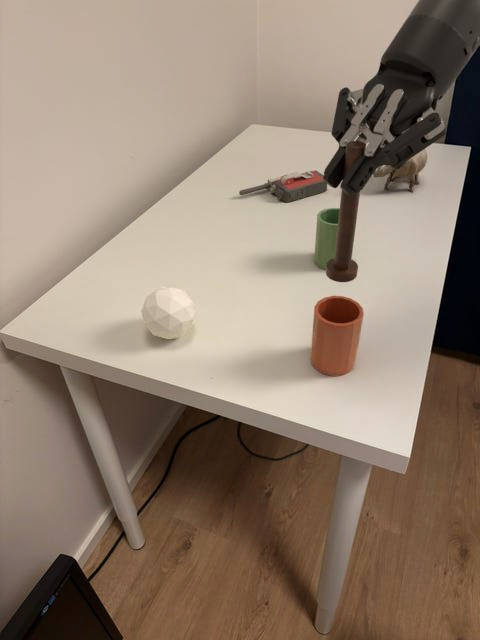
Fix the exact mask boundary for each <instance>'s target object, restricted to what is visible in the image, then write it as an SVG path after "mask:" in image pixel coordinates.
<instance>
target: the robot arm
mask: <svg viewBox="0 0 480 640" xmlns="http://www.w3.org/2000/svg"><path fill="white" fill-rule="evenodd" d="M479 46H480V0H418V1H417V3H416V4H415V5H414V7H413V9H412V10H411V12H410V13H409V15H407V18H406V19H405V21H404V22H403V23H402V25H401V26H400V28H399V30H398V31H397V33H396V35H394V37H393V39H392V40H391V42H390V43H389V45H388V46H387V48H386V50H385V51H384V52H383V54H382V56H381V58H380V62H379V66H378V71H377V72H376V74H375V75H373V77H372V78H371V79H369V80H368V81H367V82H366V83H365V84H364V86H363V88H361V89H357V90H354V91H351V89H350V88H349V87H347V86H345V87H343V88H341V89H340V90H339V92H338V98H337V103H336V108H335V112H334V118H333V123H332V128H331V136H332V138H334V140H335V141H336V142H337V143H338V149H337V150H336V152H335V153H334V155H333V157H332V158H331V159H330V161H329V162H328V164H327V165H326V166H325V169H324V172H323V175H324V176H323V179H324V181H325V182H326V183H327V186H328V187H331V188H333V189H337V188H338V187H340V189H341V191H342V190H343V191H344V192H345V193H346V194H347V195H350V196H354V195H355V194H356V193H359V192H360V193H361V191H363V189H364V188H365V186H366V185H367V183H368V182H369V181H370V179H371V178H372V176H374V175H373V173H374V172H375V171H376V170H377V169H378V168H380V167H384V166H386V165H390V166H391V167H392V168H397V167H399V166H400V165H402V164H403V163H405V162H406V161H408V160H409V159H410V158H412V157H413V156H415V155H416V154H418V153H419V152H421V151H422V150H424V149H425V150H426V149H427V148H428V147H430V146H431V145H433V144H434V143H435V142H437V141H439V140H440V139H441V138H443V137H444V136H445V135H446V134H447V130H448V129H447V128H446V126H445V125H446V124H445V123H444V121H443V118H442V117H441V116H440V113H438V112H436V110H437V106H438V102H439V101H441V100H442V99H443V98H444V97H445V96H446V94H447V93H448V91H449V90H450V88H451V87H452V86H453V84H454V83H455V82H456V81H457V78H458V77H459V76H460V74H461V72H462V71H463V70H464V68H465V67H466V65H467V64H468V63H469V61H470V59H471V58H472V57H473V55H474V53H475V52H476V51H477V49H478V48H479ZM351 141H360V142H364V143H365V144H366V149H365V151H364V154H365V155H364V156H362V155H360V156H359V157H358V159H357V160H356V162H355V163H354V165H353V166H352V168H351V169H350V171H349V172H348V173H347V175H346V176H345V178H344V179H343V171H344V162H345V152H346V144H347V143H348V142H351ZM400 150H401V151H400ZM397 152H398V153H397Z"/></svg>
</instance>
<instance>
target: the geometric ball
mask: <svg viewBox="0 0 480 640" xmlns="http://www.w3.org/2000/svg"><path fill="white" fill-rule="evenodd" d="M140 312H141V315H142V320H143V322H144V325H145V326H146V327H147V329H148V330H149V332H151V334H152V336H155V337H159V338H163V339H166V340H173V339H179V338H182V336H183V335H184V334H186V333H187V332H188V331H189V330H191V329H192V327H193V324H194V321H195V318H196V314H197V313H196V309H195V305H194V301H192V299H191V298H190V296H189V295H188V294H187V292H186V291H185V290H184V289H180V288H175V287H172V286H166V287H157V288H156V289H154V290H153V291H152V292H151V293H149V294H148V295H147V296H146V297H145V300H144V303H143V306H142V308H141V311H140Z"/></svg>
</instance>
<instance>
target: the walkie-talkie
mask: <svg viewBox="0 0 480 640" xmlns="http://www.w3.org/2000/svg"><path fill="white" fill-rule="evenodd" d="M323 176H324V173H323V174H322V173H321V172H319V171H318V170H310V171H309V170H306V171H305V172H302V173H299V172H298V171H296V172H291V173H289V174H284V175H282V176H277V177H274V178H269V179H267V182H265V183H264V184H260V185H257V186H253V187H249V188H245V189H241V190H239V192H238V194H239V195H240V196H245V195H247V194H251V193H255V192H259V191H262V190H268V189H269V192H270V194H271V193H272V194H273V195H275V196H277V199H278V200H282V201H283V202H285V203H290V202H293V201H296V200H300V199H304V198H307V197H310V196H311V197H312V196H313V195H317V194H321V193H324V192H327V190H328V184H327V183H326V182H325V181H324V179H323Z"/></svg>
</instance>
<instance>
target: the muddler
mask: <svg viewBox="0 0 480 640" xmlns="http://www.w3.org/2000/svg"><path fill="white" fill-rule="evenodd" d="M366 147H367V145H366V144H365V143H364V142H360V141H356V140H354V141H351V142H348V143H347V144H346V152H345V162H344V171H343V179H344V178H345V176H346V175H347V173H348V172H349V171H350V169H351V168H352V166H353V165H354V163H355V162H356V160H357V159H358V157H359V156H360V155H362V156H364V155H365V154H364V151H365V149H366ZM360 197H361V191H360V192H359V193H356V194H355V195H354V196H350V195H347V194H346V193H345V192H344V191H343V190H342V189H341V193H340V202H339V208H340V210H339V220H338V230H337V240H336V249H335V258H333V259H330V260H329V261H328V262H327V264H326V270H325V275H326V276H327V278H328V279H329V280H331V281H334V282H336V283H349V282H352V281H354V280H355V279H356V278H357V277H358V271H359V270H358V269H359V265H358V263H357V262H356V261H355V260H354V259H352V257H353V252H354V251H353V250H354V242H355V235H356V234H355V233H356V228H357V219H358V211H359V204H360Z"/></svg>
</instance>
